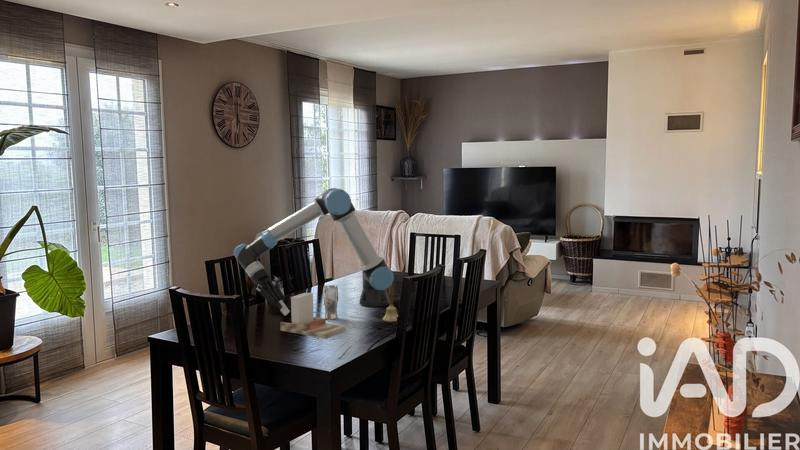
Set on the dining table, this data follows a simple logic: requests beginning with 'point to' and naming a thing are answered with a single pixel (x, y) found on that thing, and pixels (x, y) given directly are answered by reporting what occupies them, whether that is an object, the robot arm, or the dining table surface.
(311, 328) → the press tester
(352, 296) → the dining table surface
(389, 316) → the brush
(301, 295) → the white rectangular box
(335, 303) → the beer glass
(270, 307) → the coffee mug
